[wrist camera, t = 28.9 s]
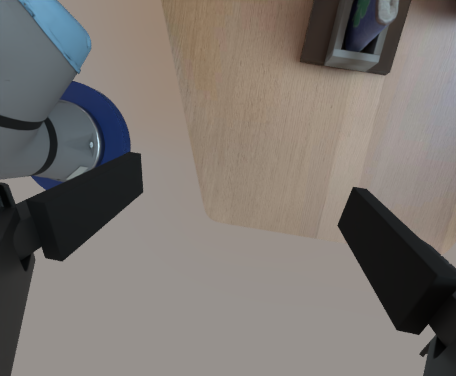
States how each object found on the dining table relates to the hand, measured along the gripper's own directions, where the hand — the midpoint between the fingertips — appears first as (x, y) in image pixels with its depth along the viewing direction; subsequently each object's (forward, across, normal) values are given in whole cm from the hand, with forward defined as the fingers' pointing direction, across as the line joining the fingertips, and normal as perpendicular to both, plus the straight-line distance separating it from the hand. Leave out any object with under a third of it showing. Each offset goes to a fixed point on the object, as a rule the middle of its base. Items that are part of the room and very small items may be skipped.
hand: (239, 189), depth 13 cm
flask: (+31, +13, +16) cm, 38 cm away
